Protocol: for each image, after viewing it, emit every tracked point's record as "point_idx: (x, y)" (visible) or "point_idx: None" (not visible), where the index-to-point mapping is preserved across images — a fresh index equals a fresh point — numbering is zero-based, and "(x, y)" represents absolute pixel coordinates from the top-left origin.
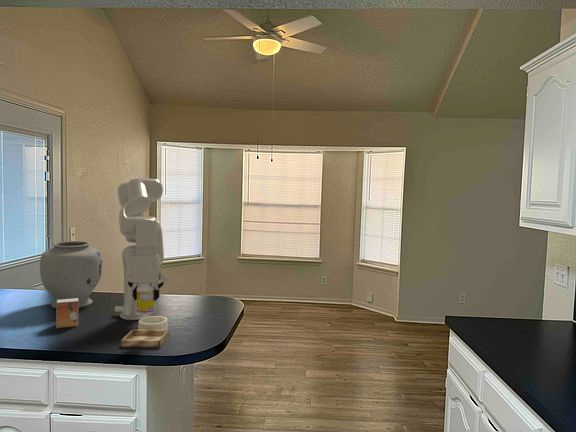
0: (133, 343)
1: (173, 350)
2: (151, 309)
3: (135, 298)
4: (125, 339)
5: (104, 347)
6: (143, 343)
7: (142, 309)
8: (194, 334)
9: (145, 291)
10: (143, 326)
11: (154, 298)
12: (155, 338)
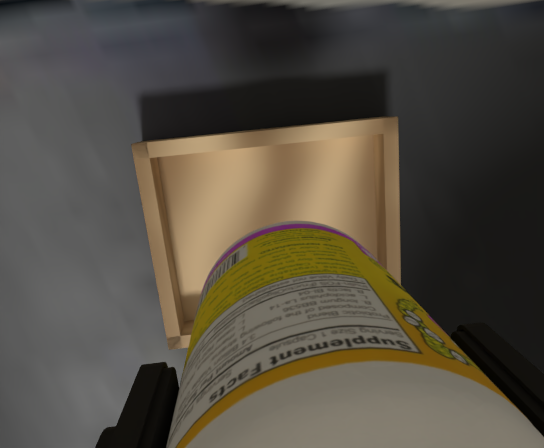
0: (311, 124)
1: (37, 105)
2: (210, 281)
3: (471, 342)
4: (381, 161)
5: (475, 96)
6: (246, 131)
7: (302, 233)
8: (36, 378)
9: (295, 381)
10: None
11: (155, 381)
12: None
